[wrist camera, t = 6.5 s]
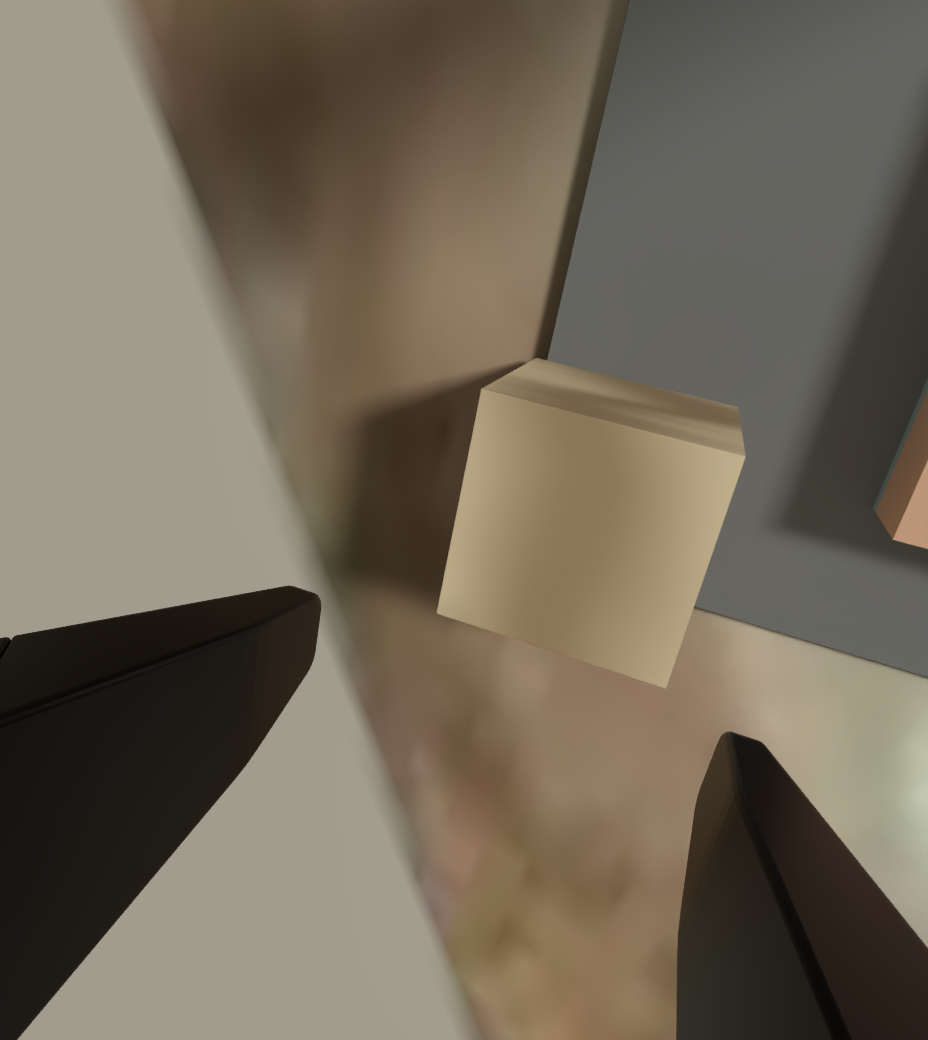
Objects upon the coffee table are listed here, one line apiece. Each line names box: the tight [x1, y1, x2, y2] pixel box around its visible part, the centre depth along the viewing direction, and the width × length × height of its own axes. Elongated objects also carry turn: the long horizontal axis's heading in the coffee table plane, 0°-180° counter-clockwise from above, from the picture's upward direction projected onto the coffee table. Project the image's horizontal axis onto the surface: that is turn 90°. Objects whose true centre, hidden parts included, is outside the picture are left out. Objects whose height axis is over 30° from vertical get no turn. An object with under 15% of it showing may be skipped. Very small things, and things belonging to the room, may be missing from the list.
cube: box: [437, 358, 746, 688], centre depth 16 cm, size 4×4×4 cm
